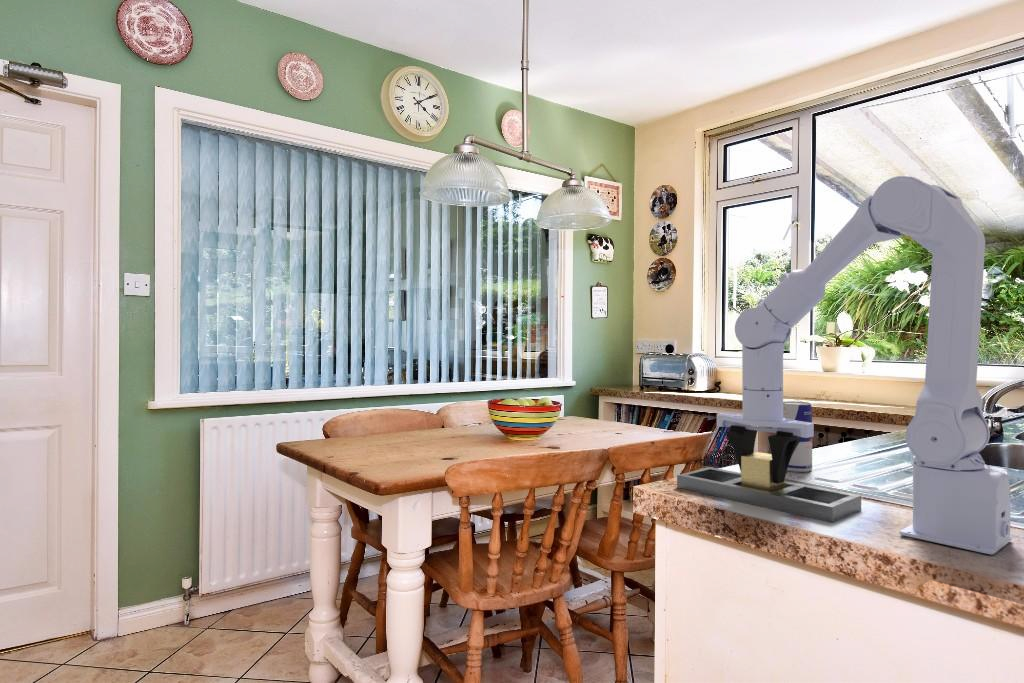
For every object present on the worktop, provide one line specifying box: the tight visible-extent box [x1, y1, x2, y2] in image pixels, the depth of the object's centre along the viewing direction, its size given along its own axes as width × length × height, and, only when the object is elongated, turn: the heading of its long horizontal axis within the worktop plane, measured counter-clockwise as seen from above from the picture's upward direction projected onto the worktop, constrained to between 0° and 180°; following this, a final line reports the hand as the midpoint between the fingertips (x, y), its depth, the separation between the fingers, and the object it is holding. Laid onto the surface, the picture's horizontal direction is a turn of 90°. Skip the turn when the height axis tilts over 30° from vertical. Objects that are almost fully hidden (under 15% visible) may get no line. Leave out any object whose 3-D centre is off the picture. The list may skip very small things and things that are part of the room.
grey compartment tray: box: [676, 466, 862, 523], centre depth 96 cm, size 24×9×2 cm, turn 39°
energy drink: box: [780, 400, 813, 473], centre depth 115 cm, size 5×5×12 cm
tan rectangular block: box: [740, 451, 786, 492], centre depth 96 cm, size 4×4×5 cm
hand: (762, 479), depth 96 cm, fingers closed on tan rectangular block, 4 cm apart
